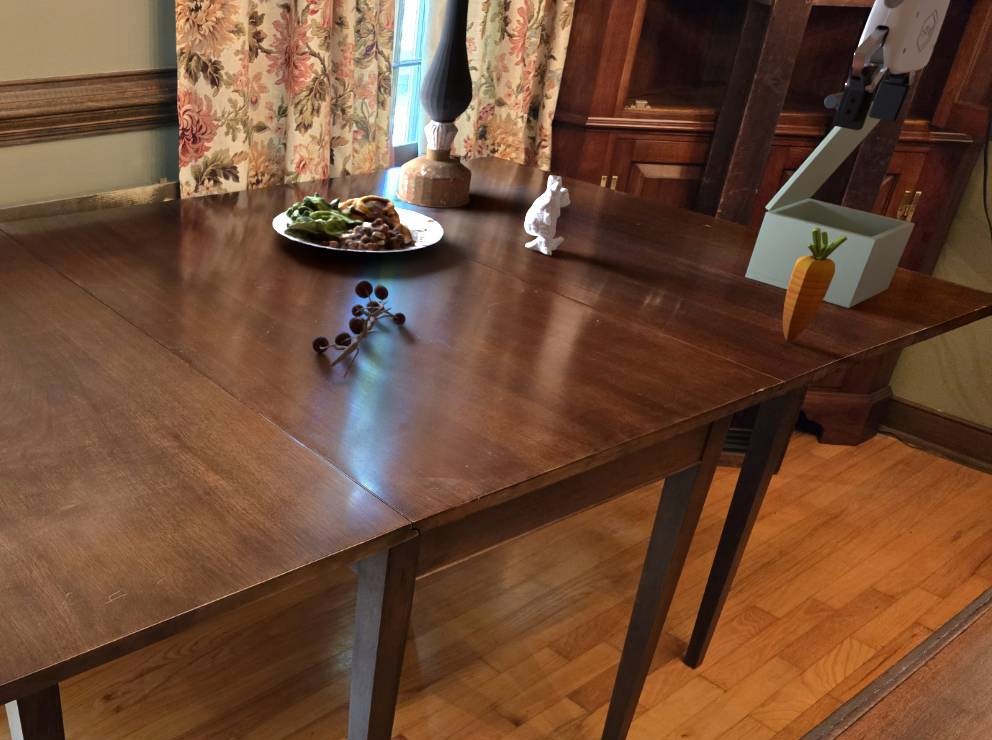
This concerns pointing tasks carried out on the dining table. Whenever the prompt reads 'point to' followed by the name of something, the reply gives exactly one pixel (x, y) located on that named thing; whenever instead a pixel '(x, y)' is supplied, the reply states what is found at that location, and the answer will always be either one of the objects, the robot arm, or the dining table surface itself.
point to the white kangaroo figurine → (547, 216)
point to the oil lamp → (442, 120)
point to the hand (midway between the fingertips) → (864, 123)
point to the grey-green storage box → (857, 260)
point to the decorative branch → (359, 323)
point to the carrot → (809, 284)
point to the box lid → (822, 159)
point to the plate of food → (357, 225)
